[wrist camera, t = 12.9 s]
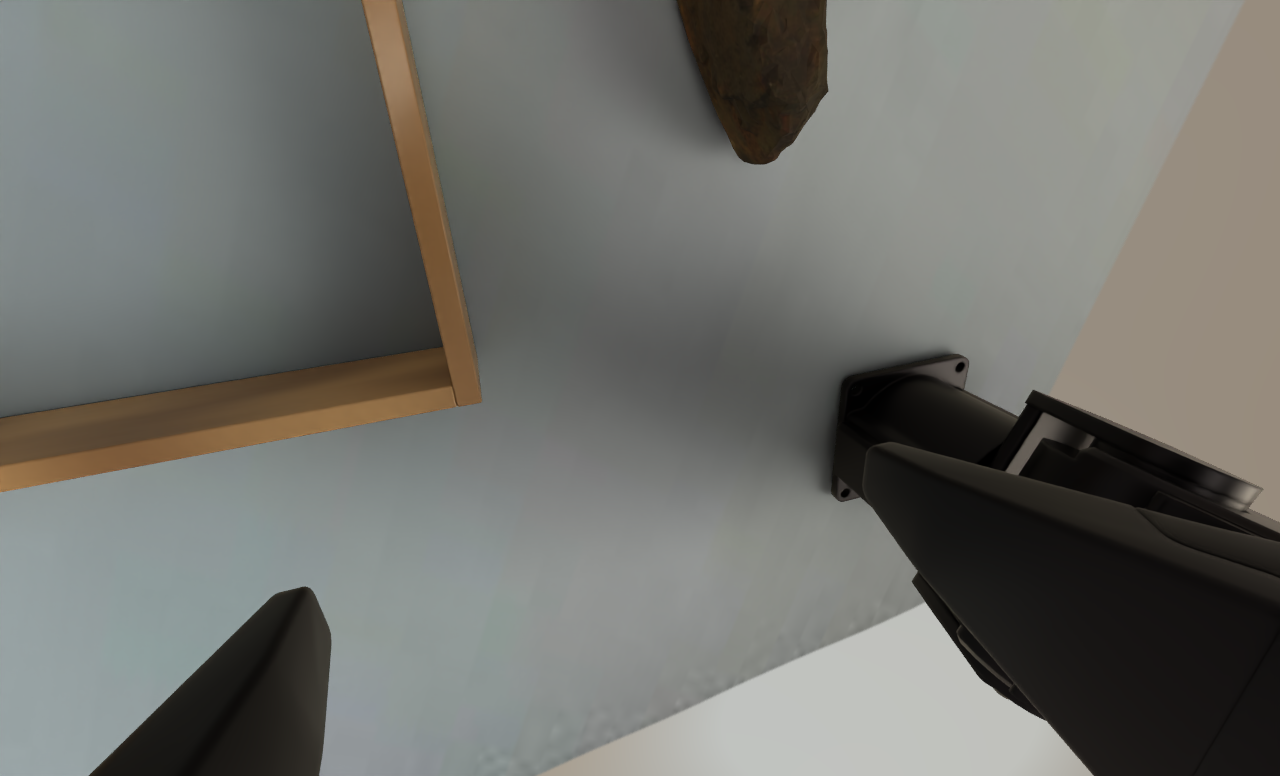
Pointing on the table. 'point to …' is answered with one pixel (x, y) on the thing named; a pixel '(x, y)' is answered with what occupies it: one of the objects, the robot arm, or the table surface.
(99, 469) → the wooden rectangular frame
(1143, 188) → the table surface
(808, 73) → the dark brown long piece
